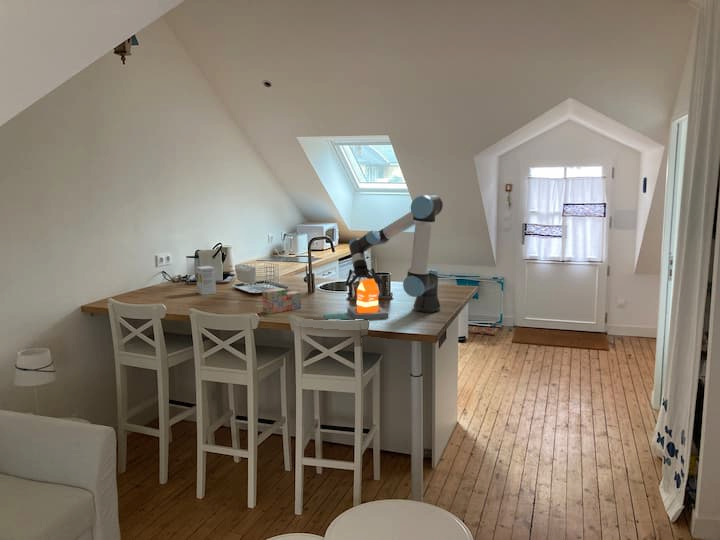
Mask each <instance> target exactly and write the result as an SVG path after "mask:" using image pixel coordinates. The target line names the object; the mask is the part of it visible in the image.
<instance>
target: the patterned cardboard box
mask: <svg viewBox="0 0 720 540" xmlns="http://www.w3.org/2000/svg"><path fill="white" fill-rule="evenodd" d="M301 295H302V294H301V292H299V291H296V290H293V291H288V289H287V288H283V287H279V288H273V289H272V288H271V289H267V290H262V297H261V299H262V312H263V313H264V314H268V315H270V314H271V315H272V314H276V313H281V312H287V311H293V310H298V309H302V298H301V297H302V296H301Z"/></svg>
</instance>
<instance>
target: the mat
mask: <svg viewBox="0 0 720 540" xmlns="http://www.w3.org/2000/svg"><path fill="white" fill-rule="evenodd" d="M323 317H324V318H325V320H327V319H350V320H351V318H350V316H348V315H347V314H346V313H345V312H344V313H332V314H331V313H330V314H323Z"/></svg>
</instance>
